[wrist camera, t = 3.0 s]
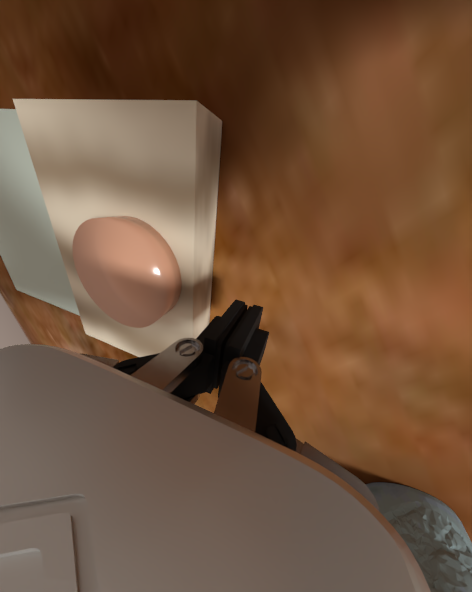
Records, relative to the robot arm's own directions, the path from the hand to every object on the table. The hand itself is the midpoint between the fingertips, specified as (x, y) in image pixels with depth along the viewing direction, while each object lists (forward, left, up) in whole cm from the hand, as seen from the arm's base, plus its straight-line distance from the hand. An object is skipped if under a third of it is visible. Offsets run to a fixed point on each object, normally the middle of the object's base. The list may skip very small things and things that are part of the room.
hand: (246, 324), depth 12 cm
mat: (-1, -27, -5) cm, 28 cm away
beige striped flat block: (-1, -12, -5) cm, 13 cm away
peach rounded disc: (-1, -10, -2) cm, 10 cm away
